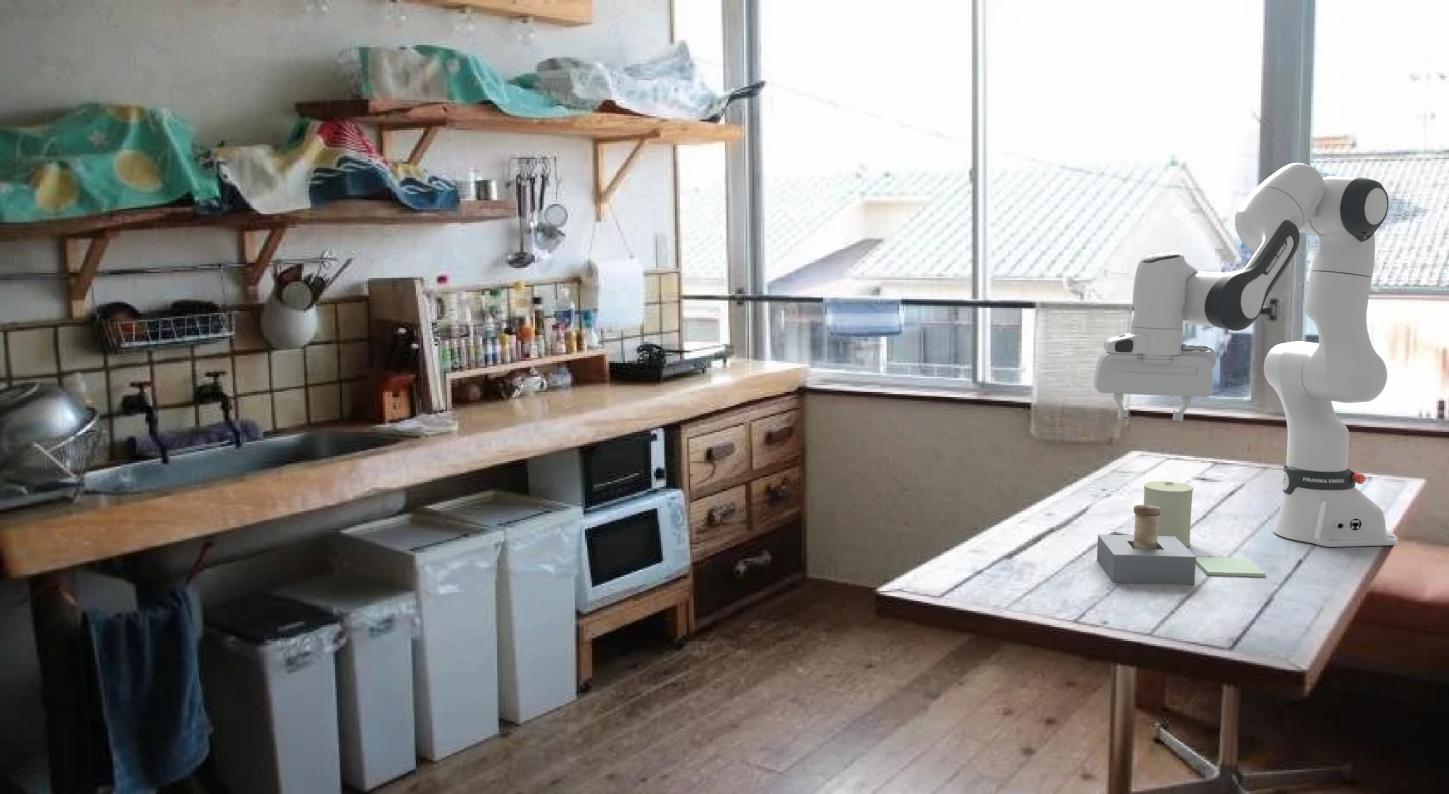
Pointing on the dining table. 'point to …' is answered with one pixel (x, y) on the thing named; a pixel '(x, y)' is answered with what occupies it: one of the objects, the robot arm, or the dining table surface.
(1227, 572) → the mat
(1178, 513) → the can
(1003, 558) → the dining table surface
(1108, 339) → the robot arm
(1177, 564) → the socket
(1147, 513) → the plug
